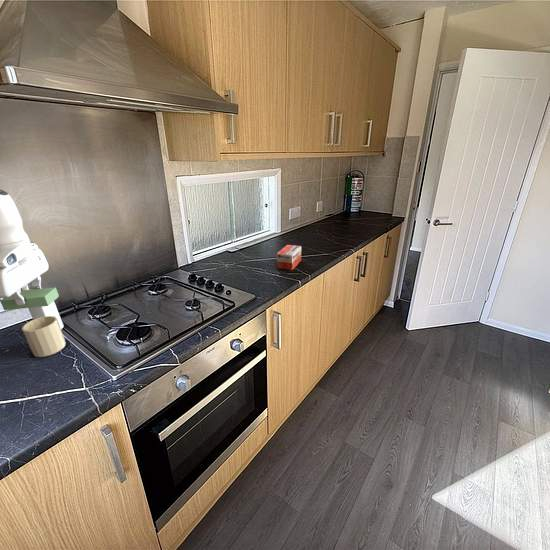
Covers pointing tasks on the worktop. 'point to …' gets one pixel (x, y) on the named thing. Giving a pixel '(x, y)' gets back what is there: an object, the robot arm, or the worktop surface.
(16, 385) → the worktop surface
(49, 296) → the green flat block
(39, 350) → the cup
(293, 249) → the medicine box
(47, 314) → the cosmetic box
